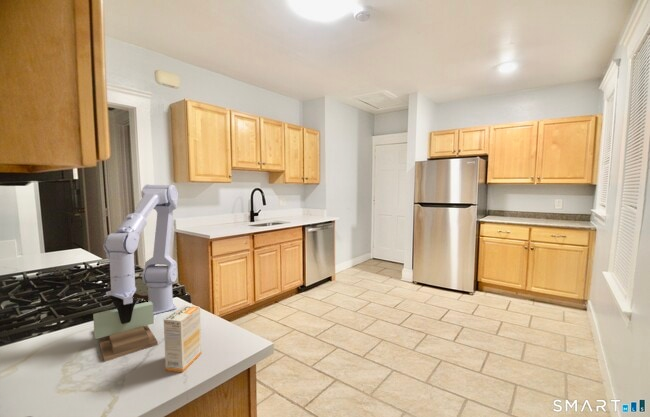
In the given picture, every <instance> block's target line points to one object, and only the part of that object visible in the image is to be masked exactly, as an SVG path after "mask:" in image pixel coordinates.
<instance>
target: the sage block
mask: <svg viewBox="0 0 650 417" xmlns="http://www.w3.org/2000/svg"><path fill="white" fill-rule="evenodd" d="M154 315H155V314H154V313H153V303H152V302H151V301H149V302H141V303H137V304H135V306H134V308H133V312H132V317H131V321H130V322H129V323H125V324H122V323H121V321H120V318H119V313H118V310H117V309H116V308H114V309H110V310H105V311H104V310H103V311H99V312H96V313H93V315H92V316H93V318H92V319H93V335H94V339H95V340H98V338H101V337H105V336H109V335H112V334H116V333H119V332H123V331H127V330H130V329H134V328H138V327H141V326H146V325H148V326H150V325H153V324H155V323H154V319H155V318H154Z"/></svg>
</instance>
